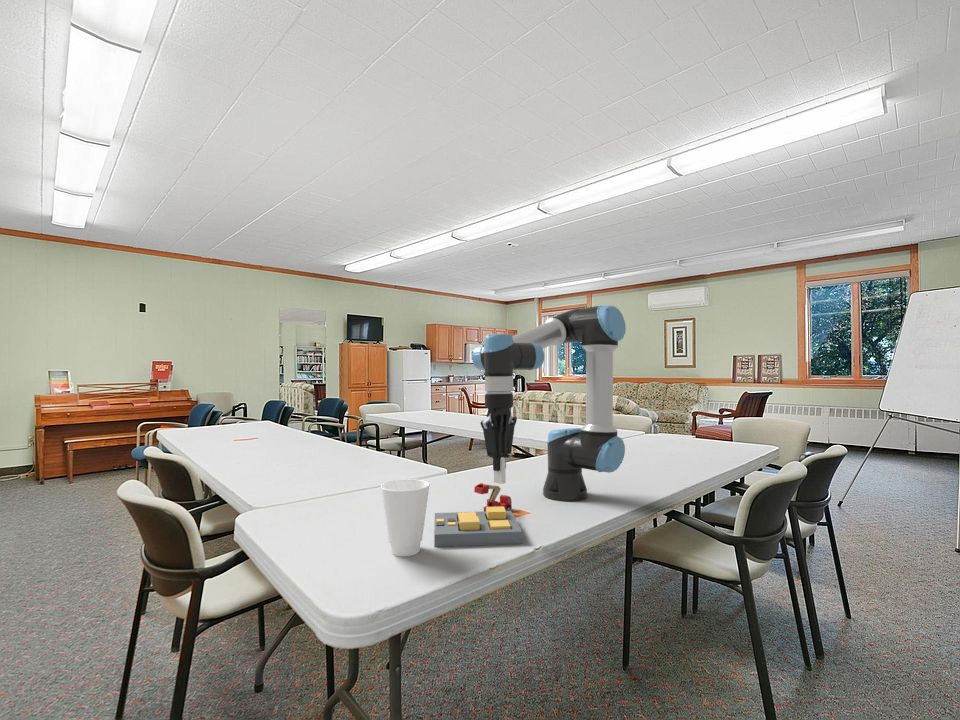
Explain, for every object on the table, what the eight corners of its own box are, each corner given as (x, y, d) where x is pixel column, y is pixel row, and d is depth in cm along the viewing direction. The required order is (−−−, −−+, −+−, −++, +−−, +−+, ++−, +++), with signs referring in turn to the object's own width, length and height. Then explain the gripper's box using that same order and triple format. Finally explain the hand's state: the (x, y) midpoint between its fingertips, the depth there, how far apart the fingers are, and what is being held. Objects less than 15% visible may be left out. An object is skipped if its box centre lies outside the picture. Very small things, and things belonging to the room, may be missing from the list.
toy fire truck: (513, 510, 150) (512, 478, 150) (481, 519, 140) (481, 486, 140) (505, 507, 152) (505, 477, 152) (474, 517, 143) (473, 484, 143)
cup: (386, 564, 108) (386, 493, 109) (375, 546, 119) (375, 481, 119) (436, 555, 113) (436, 487, 113) (421, 539, 124) (421, 477, 124)
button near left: (507, 532, 128) (507, 519, 128) (510, 538, 123) (510, 526, 123) (489, 532, 127) (489, 520, 128) (491, 539, 123) (491, 526, 123)
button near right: (478, 527, 127) (478, 515, 127) (479, 534, 122) (479, 521, 122) (459, 528, 127) (459, 516, 127) (460, 535, 122) (460, 522, 122)
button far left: (503, 517, 136) (503, 506, 136) (506, 523, 131) (506, 511, 131) (486, 518, 135) (486, 506, 136) (488, 523, 130) (488, 512, 131)
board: (511, 521, 139) (511, 509, 139) (522, 543, 121) (522, 530, 121) (434, 523, 137) (434, 511, 137) (434, 546, 119) (434, 533, 119)
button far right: (475, 523, 135) (475, 512, 135) (477, 529, 130) (477, 517, 130) (457, 524, 135) (457, 512, 135) (458, 529, 130) (458, 518, 130)
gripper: (502, 391, 133) (503, 476, 133) (471, 393, 123) (472, 485, 123) (524, 391, 129) (525, 480, 128) (494, 394, 119) (495, 489, 118)
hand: (499, 482), depth 126 cm, fingers closed
